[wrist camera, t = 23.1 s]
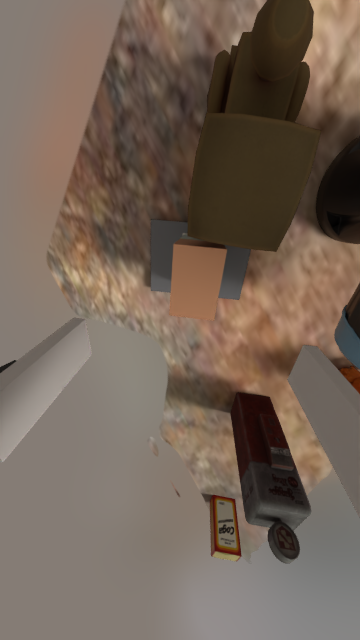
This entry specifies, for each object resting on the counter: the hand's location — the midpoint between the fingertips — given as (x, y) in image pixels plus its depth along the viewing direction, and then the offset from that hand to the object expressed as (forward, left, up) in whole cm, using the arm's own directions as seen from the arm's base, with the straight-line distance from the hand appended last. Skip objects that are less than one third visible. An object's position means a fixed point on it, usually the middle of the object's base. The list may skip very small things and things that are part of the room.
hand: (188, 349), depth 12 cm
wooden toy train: (-15, +4, -29) cm, 33 cm away
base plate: (0, 0, -29) cm, 29 cm away
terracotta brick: (0, 0, -20) cm, 20 cm away
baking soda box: (+99, +22, -29) cm, 105 cm away
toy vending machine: (+37, +19, -29) cm, 51 cm away
